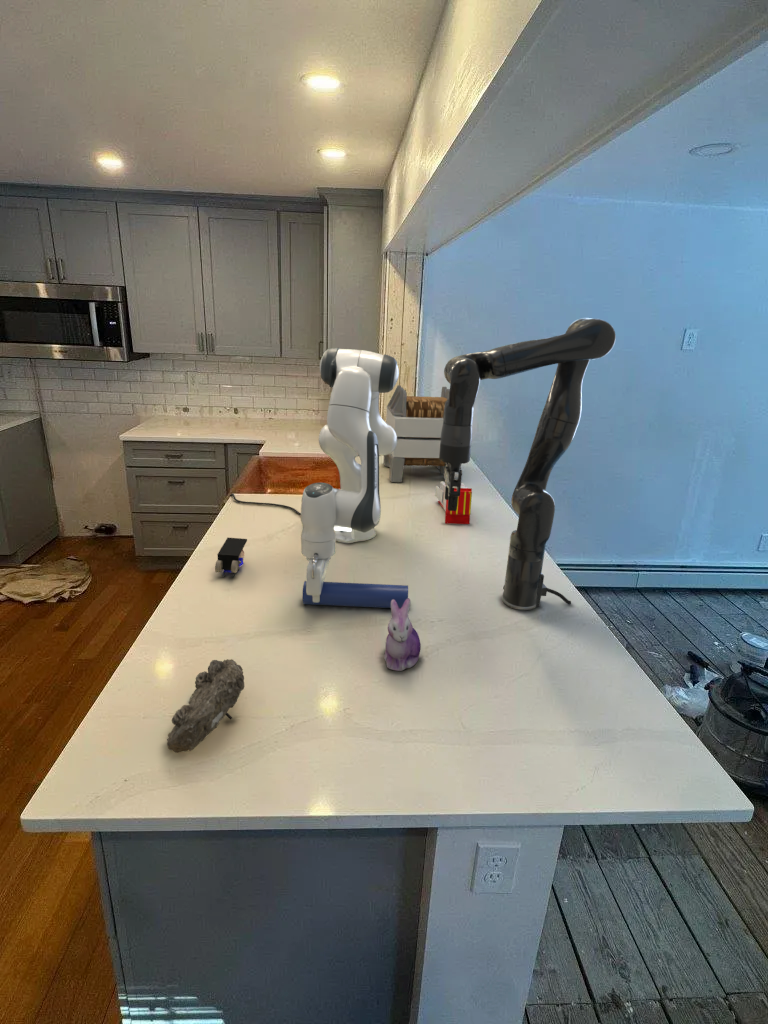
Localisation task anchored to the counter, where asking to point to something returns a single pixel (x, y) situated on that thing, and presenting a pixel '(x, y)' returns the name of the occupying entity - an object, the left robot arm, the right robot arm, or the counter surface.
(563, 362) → the right robot arm
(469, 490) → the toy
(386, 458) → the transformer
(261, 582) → the counter surface
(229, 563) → the figurine character
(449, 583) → the counter surface
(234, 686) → the fossil
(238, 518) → the counter surface
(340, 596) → the rod
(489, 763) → the counter surface
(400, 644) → the figurine
